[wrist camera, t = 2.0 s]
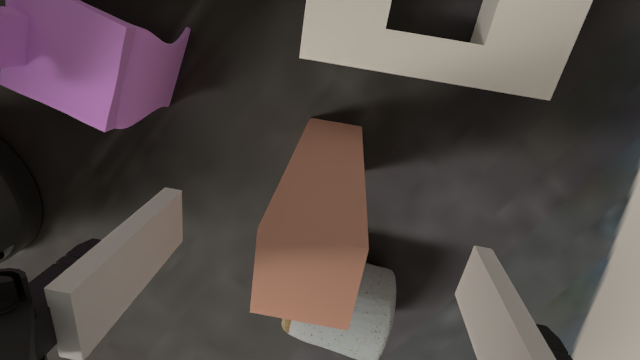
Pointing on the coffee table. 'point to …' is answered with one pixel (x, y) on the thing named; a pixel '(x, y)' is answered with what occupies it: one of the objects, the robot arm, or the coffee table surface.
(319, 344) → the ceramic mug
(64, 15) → the toy chair
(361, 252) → the peg
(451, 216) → the coffee table surface
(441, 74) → the socket block
